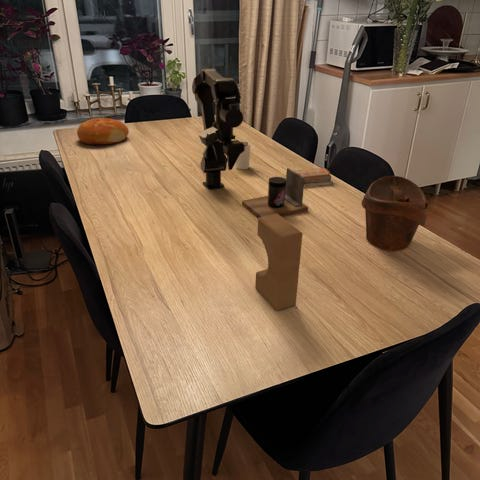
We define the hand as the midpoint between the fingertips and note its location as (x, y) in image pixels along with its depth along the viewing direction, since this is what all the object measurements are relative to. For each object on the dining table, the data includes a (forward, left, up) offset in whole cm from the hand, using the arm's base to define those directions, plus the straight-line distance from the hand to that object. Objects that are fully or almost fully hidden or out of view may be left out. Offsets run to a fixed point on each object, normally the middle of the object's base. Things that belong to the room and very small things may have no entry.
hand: (224, 165), depth 156 cm
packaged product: (-2, +37, -14) cm, 39 cm away
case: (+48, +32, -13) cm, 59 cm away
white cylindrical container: (-27, +21, -13) cm, 37 cm away
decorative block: (+57, -13, -13) cm, 60 cm away
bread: (-88, -23, -13) cm, 92 cm away
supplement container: (+14, +13, -12) cm, 22 cm away
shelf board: (+13, +13, -13) cm, 23 cm away
